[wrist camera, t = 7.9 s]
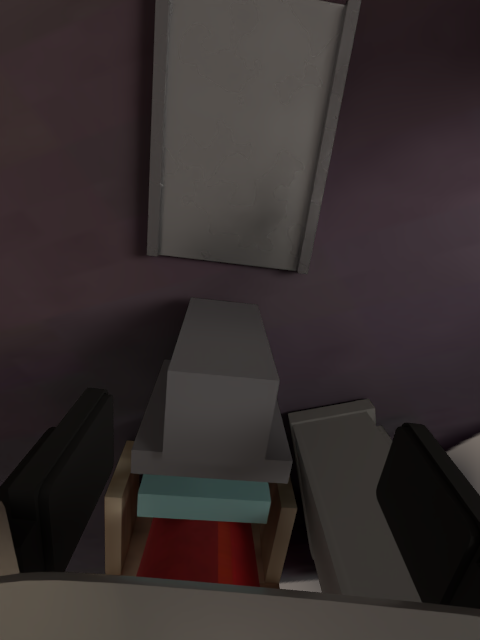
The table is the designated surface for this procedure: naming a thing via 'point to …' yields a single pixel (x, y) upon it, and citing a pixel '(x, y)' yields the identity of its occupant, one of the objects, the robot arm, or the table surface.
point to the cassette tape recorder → (347, 501)
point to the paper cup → (200, 552)
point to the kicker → (213, 422)
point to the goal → (132, 532)
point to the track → (244, 126)
